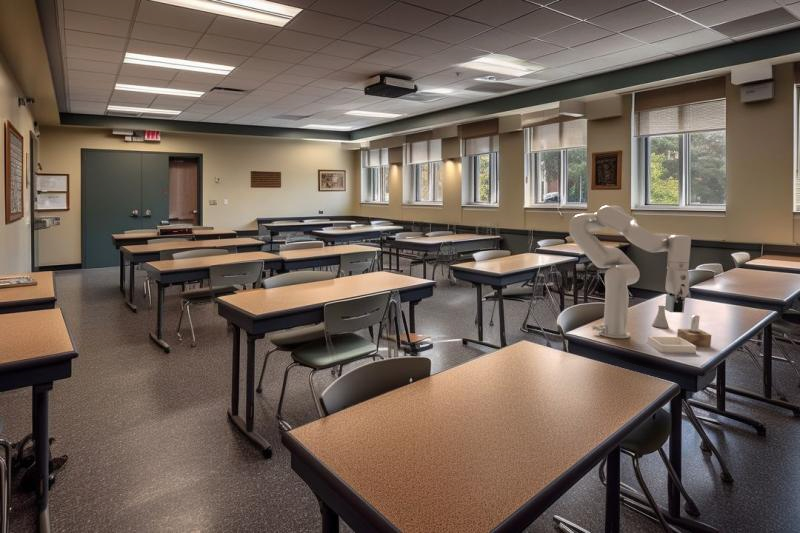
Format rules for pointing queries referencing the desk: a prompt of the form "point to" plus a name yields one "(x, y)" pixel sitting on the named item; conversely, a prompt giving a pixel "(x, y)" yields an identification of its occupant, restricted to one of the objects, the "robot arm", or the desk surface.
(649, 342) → the tray
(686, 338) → the block
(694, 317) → the pin gauge
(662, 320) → the flask
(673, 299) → the block
